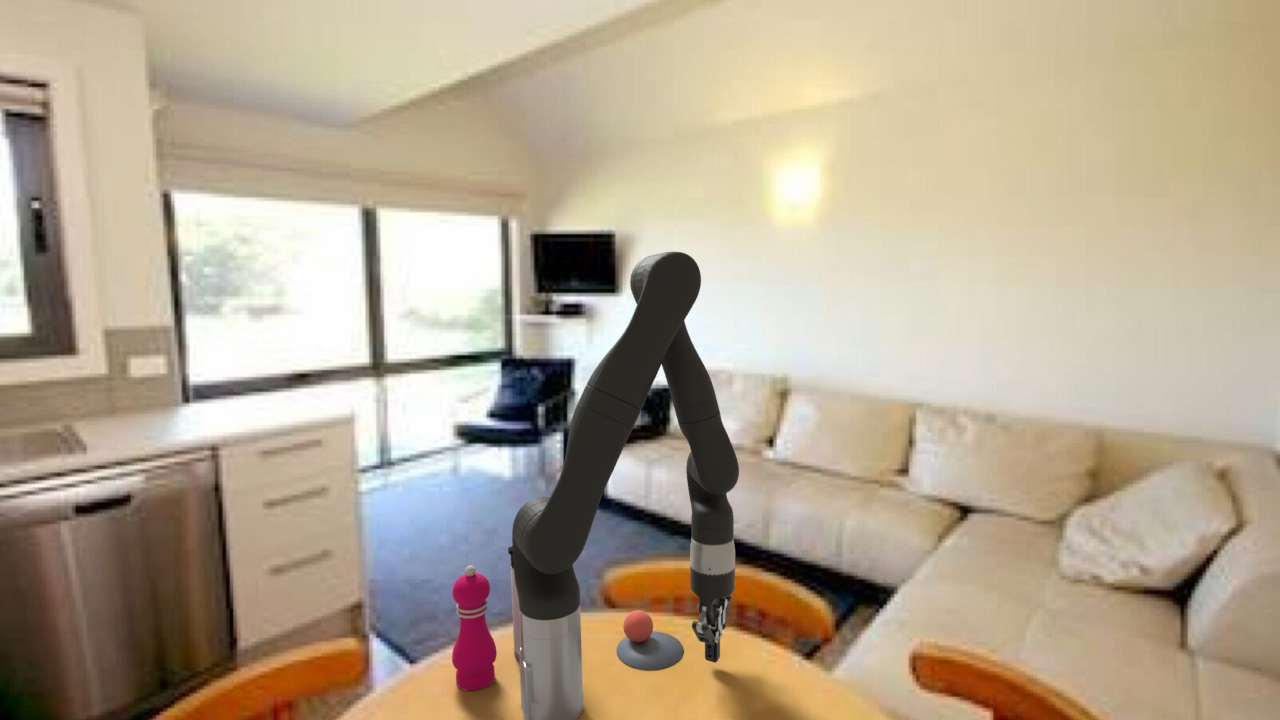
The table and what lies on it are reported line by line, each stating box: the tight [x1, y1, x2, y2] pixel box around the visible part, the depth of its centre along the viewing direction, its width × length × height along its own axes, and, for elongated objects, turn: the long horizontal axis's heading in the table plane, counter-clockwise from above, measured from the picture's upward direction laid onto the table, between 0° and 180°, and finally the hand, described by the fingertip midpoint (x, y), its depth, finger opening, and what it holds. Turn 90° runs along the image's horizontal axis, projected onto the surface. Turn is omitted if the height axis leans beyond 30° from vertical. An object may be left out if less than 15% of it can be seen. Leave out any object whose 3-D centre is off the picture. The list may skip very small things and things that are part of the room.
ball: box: [623, 609, 654, 643], centre depth 119 cm, size 6×6×6 cm
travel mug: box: [507, 545, 521, 660], centre depth 115 cm, size 6×7×20 cm
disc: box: [615, 630, 684, 671], centre depth 117 cm, size 12×12×1 cm
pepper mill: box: [451, 565, 497, 692], centre depth 107 cm, size 7×7×20 cm
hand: (712, 659), depth 111 cm, fingers closed
